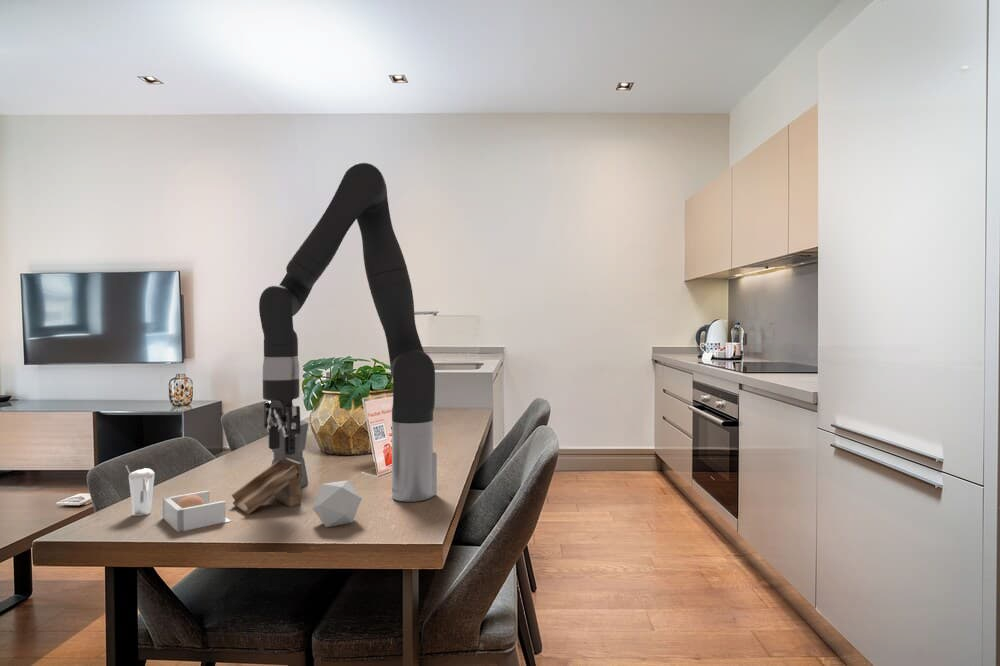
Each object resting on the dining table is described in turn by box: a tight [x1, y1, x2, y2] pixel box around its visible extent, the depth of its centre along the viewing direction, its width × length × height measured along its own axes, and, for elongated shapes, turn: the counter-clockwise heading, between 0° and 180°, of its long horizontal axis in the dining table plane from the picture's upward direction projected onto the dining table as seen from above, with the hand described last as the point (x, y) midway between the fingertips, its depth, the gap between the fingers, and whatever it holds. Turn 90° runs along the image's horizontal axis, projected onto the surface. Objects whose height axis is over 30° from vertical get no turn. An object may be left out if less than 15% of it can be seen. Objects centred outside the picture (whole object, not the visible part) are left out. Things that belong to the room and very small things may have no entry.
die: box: [312, 480, 362, 528], centre depth 112 cm, size 8×9×10 cm
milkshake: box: [125, 465, 155, 517], centre depth 118 cm, size 4×5×10 cm
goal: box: [162, 490, 227, 533], centre depth 114 cm, size 8×11×4 cm
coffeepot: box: [271, 420, 309, 488], centre depth 141 cm, size 15×9×18 cm, turn 12°
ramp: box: [231, 457, 302, 516], centre depth 123 cm, size 12×8×9 cm
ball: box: [178, 495, 205, 508], centre depth 113 cm, size 5×5×5 cm
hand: (281, 451), depth 125 cm, fingers open, 8 cm apart
